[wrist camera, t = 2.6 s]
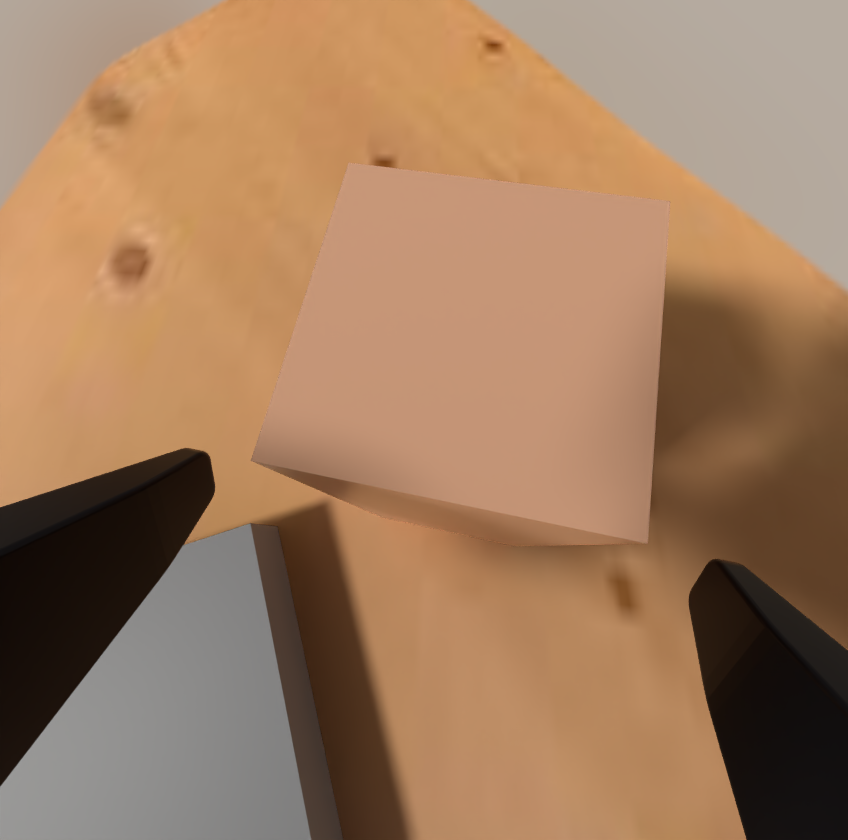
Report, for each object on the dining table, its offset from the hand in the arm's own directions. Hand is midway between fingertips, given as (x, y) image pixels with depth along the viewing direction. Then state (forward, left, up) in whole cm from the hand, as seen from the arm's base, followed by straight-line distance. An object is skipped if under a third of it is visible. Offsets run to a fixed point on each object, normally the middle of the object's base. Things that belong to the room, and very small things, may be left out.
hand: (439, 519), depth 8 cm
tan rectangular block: (+2, -1, -10) cm, 10 cm away
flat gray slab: (-4, +13, -10) cm, 17 cm away
